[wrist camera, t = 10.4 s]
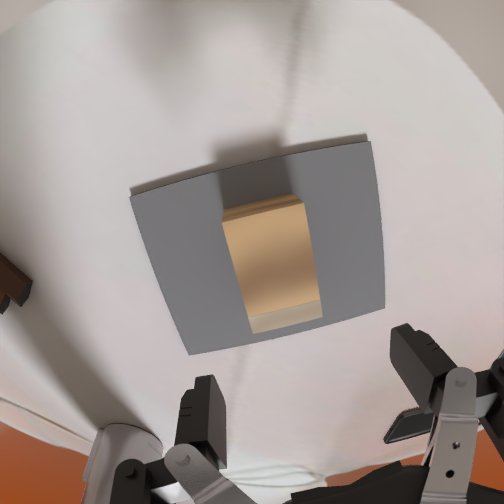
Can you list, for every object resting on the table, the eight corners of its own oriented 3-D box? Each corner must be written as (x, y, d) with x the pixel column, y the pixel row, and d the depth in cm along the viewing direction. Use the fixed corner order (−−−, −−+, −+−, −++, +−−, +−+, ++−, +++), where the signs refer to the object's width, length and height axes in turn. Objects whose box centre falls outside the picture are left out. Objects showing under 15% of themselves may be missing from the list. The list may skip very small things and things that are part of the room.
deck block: (223, 209, 23) (221, 222, 19) (292, 193, 23) (304, 203, 19) (250, 307, 26) (253, 334, 22) (310, 292, 26) (322, 317, 22)
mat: (189, 351, 28) (188, 355, 28) (131, 195, 23) (129, 197, 22) (382, 305, 28) (385, 307, 27) (367, 141, 22) (370, 141, 22)
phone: (447, 426, 38) (382, 445, 37) (444, 422, 39) (380, 440, 38) (467, 397, 36) (401, 416, 34) (464, 393, 37) (398, 411, 35)
